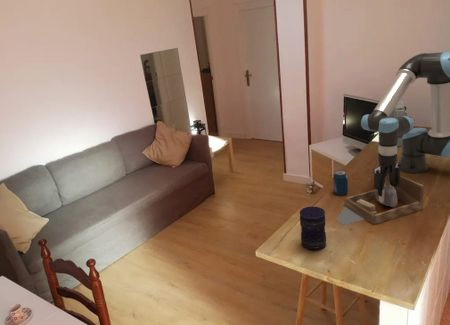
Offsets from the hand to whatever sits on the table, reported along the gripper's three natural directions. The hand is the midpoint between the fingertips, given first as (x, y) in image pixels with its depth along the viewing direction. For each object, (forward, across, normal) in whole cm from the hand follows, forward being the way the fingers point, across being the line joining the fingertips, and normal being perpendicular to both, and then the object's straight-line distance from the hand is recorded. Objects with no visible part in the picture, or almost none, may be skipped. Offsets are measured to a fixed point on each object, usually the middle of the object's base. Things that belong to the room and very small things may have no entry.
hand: (386, 200), depth 160 cm
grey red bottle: (+4, -68, -68) cm, 96 cm away
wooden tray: (+3, +2, 0) cm, 4 cm away
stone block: (+3, +1, 0) cm, 3 cm away
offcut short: (0, +12, +1) cm, 12 cm away
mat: (+3, +21, -3) cm, 22 cm away
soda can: (+3, +9, -22) cm, 24 cm away
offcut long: (+4, +12, +1) cm, 13 cm away
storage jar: (+3, +45, +11) cm, 47 cm away
